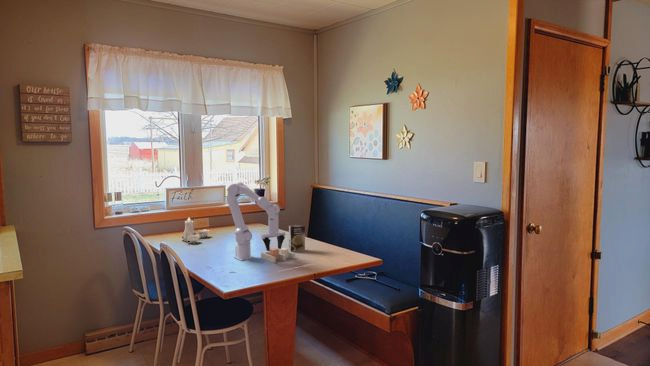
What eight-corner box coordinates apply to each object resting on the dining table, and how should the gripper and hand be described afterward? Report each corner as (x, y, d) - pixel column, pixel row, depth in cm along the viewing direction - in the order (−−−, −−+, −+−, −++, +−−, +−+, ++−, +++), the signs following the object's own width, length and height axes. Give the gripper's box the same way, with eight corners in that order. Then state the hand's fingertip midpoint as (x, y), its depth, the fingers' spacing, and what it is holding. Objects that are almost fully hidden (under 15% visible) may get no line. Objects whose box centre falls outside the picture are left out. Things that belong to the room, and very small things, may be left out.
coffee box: (290, 253, 265) (290, 226, 263) (288, 250, 271) (288, 225, 269) (305, 252, 267) (305, 226, 266) (303, 249, 273) (302, 224, 272)
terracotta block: (269, 259, 248) (269, 249, 248) (275, 258, 251) (275, 247, 250) (273, 260, 245) (272, 250, 245) (279, 259, 248) (278, 249, 247)
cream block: (279, 257, 253) (278, 248, 252) (284, 256, 255) (284, 247, 255) (282, 258, 249) (282, 250, 249) (288, 257, 252) (288, 249, 251)
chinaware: (199, 247, 289) (200, 222, 287) (174, 245, 289) (175, 220, 287) (210, 238, 317) (212, 215, 315) (187, 236, 317) (189, 213, 315)
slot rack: (259, 258, 252) (259, 252, 252) (281, 254, 261) (281, 248, 261) (274, 264, 240) (274, 258, 239) (297, 259, 249) (297, 253, 249)
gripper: (266, 228, 239) (266, 252, 240) (288, 225, 248) (288, 248, 249) (259, 226, 244) (259, 250, 245) (281, 223, 253) (281, 246, 254)
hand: (273, 249), depth 248 cm, fingers open, 7 cm apart
